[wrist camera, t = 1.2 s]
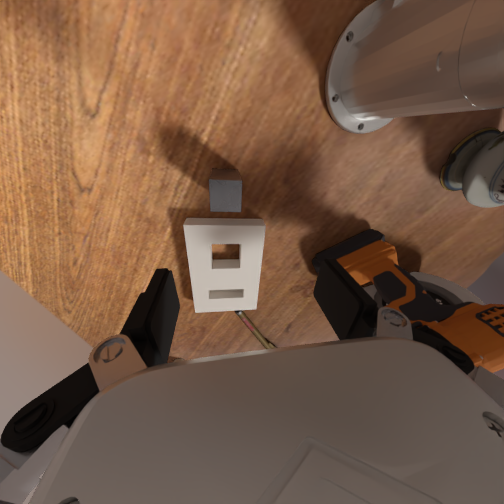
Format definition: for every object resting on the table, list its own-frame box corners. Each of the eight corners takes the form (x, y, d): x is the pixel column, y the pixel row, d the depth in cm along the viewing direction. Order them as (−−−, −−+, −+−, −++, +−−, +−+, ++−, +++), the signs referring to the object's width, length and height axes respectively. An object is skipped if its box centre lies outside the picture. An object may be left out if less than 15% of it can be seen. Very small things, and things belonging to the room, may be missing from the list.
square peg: (212, 168, 28) (208, 179, 21) (237, 169, 29) (242, 180, 22) (213, 193, 30) (210, 211, 23) (237, 194, 31) (240, 212, 24)
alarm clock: (431, 266, 46) (550, 342, 29) (425, 287, 50) (526, 364, 33) (346, 292, 47) (413, 380, 30) (346, 311, 51) (406, 397, 34)
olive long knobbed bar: (228, 308, 47) (245, 299, 46) (281, 370, 64) (293, 363, 63) (230, 322, 43) (248, 313, 42) (286, 385, 60) (299, 378, 59)
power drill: (293, 290, 44) (357, 432, 23) (281, 269, 40) (345, 417, 19) (384, 248, 41) (554, 370, 20) (381, 221, 37) (587, 337, 16)
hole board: (186, 217, 32) (183, 225, 29) (262, 218, 33) (265, 225, 31) (197, 301, 42) (195, 312, 40) (254, 299, 44) (256, 309, 41)
